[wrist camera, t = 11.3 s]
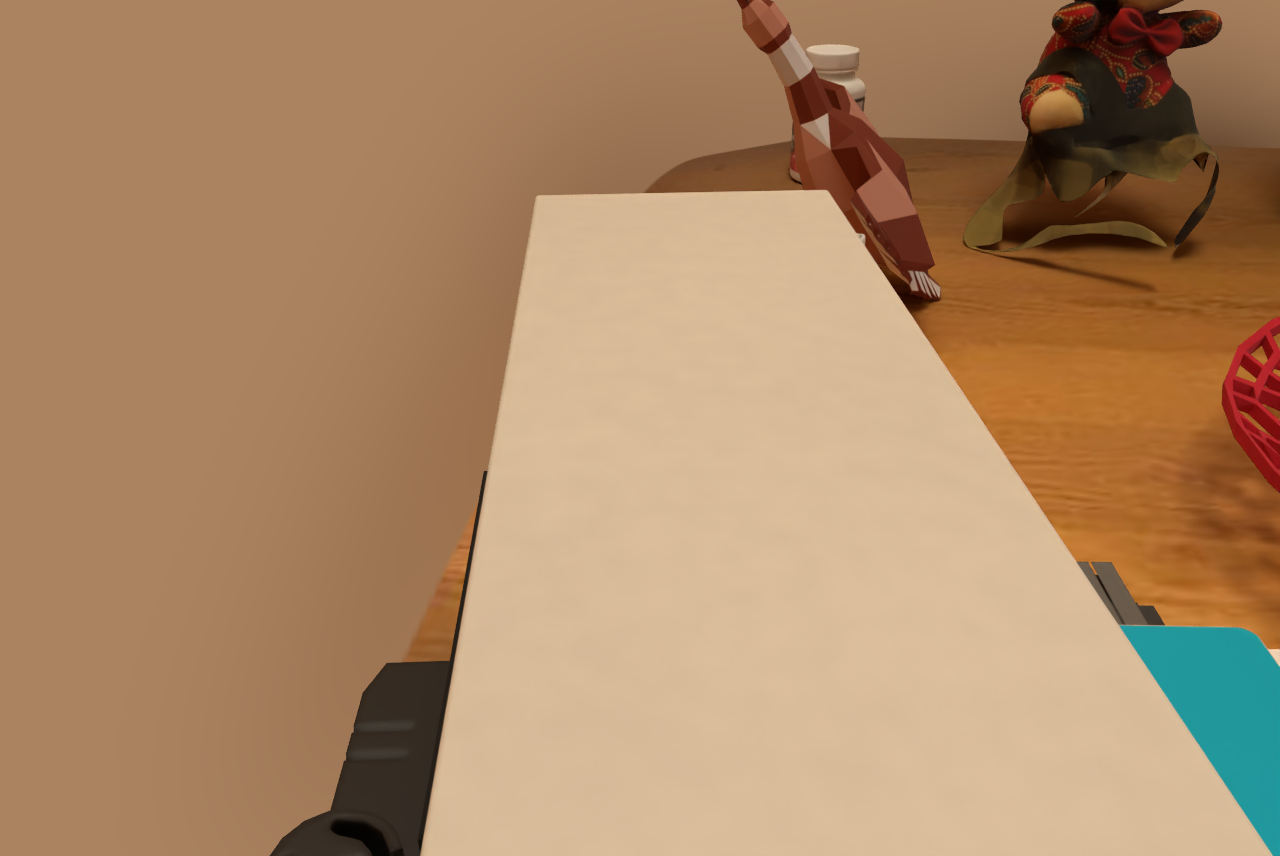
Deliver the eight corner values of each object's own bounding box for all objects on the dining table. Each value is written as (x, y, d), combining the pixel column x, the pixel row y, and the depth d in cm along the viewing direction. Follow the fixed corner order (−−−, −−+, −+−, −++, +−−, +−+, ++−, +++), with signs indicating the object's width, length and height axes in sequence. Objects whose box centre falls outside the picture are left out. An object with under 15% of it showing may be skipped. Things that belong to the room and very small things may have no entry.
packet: (1027, 1594, 10) (1428, 1061, 5) (516, 1625, 10) (361, 1111, 5) (790, 629, 22) (830, 188, 17) (561, 636, 22) (532, 193, 17)
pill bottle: (788, 167, 81) (796, 42, 76) (854, 168, 81) (866, 42, 76) (789, 187, 77) (798, 55, 72) (859, 188, 76) (873, 55, 71)
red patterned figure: (980, 262, 58) (1017, -221, 51) (945, 236, 74) (971, -135, 67) (1258, 263, 56) (1337, -246, 49) (1160, 236, 72) (1210, -151, 65)
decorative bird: (645, 165, 70) (734, -52, 62) (875, 263, 72) (988, 66, 65) (597, 337, 45) (734, 15, 38) (948, 477, 48) (1142, 200, 40)
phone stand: (897, 573, 36) (903, 536, 35) (1232, 579, 35) (1246, 542, 35) (1088, 1240, 19) (1108, 1199, 18) (1745, 1271, 18) (1798, 1231, 17)
